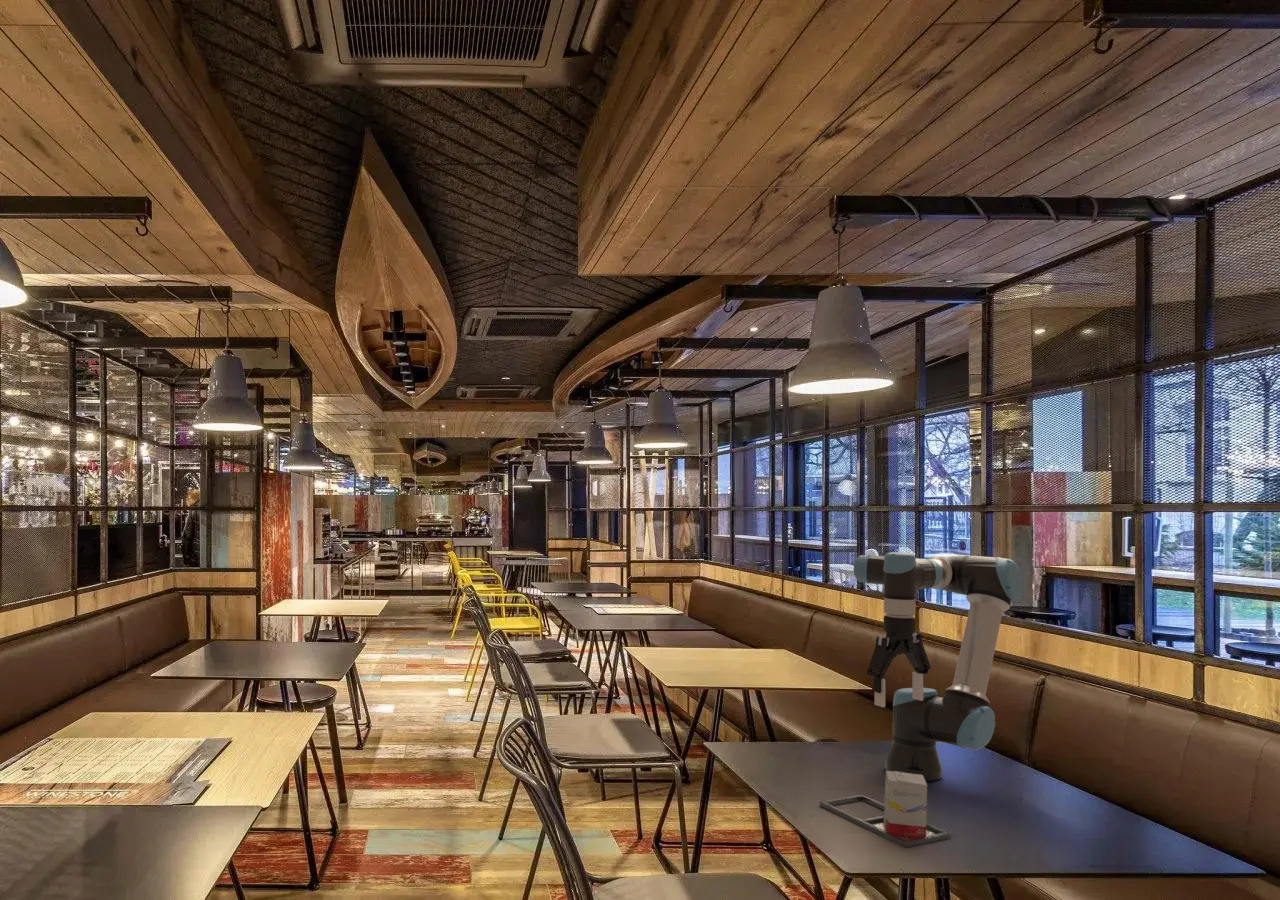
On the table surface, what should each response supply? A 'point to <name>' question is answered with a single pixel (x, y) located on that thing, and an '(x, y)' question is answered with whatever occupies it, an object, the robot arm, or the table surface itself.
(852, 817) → the grey flat rectangular frame
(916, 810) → the ink box
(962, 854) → the table surface
